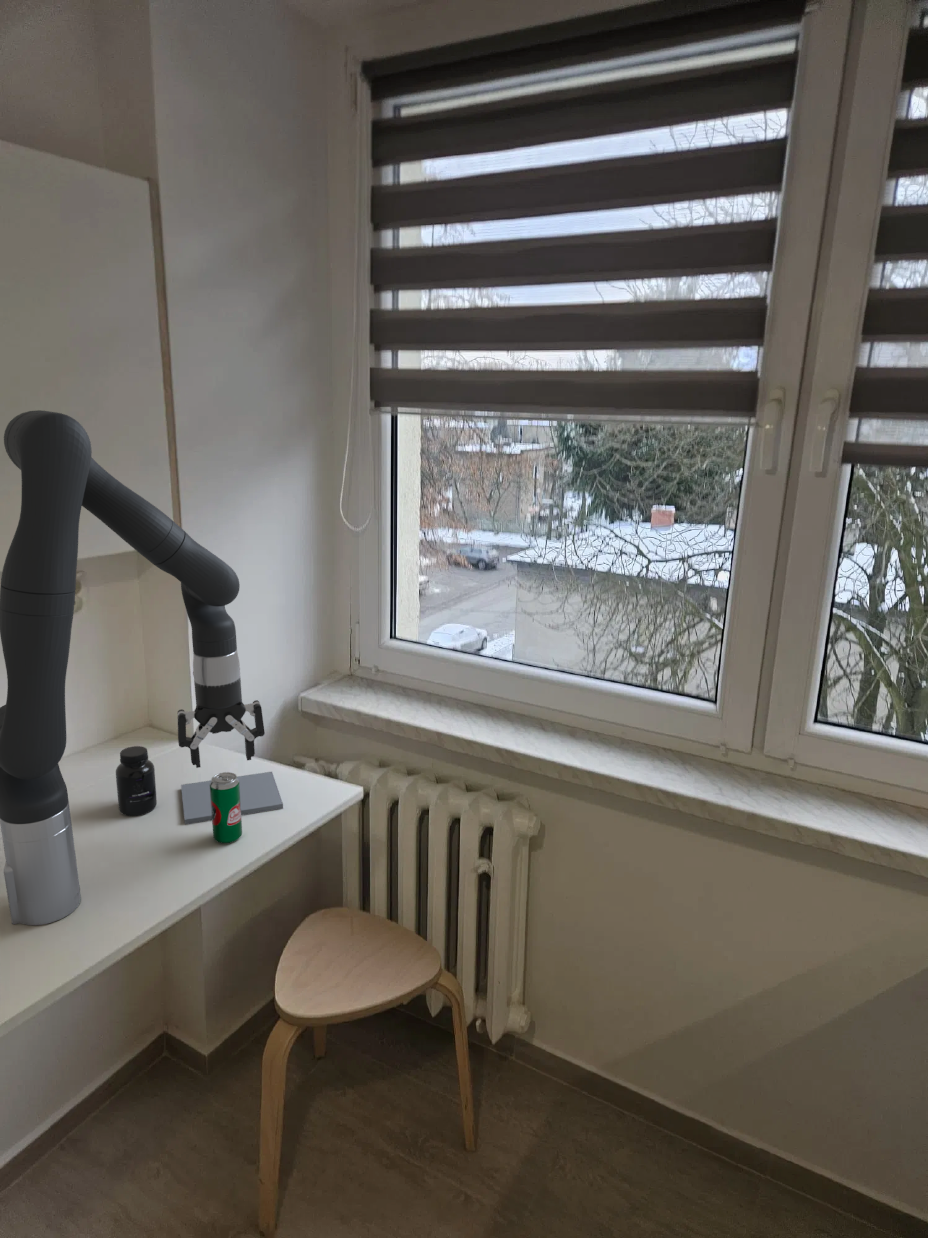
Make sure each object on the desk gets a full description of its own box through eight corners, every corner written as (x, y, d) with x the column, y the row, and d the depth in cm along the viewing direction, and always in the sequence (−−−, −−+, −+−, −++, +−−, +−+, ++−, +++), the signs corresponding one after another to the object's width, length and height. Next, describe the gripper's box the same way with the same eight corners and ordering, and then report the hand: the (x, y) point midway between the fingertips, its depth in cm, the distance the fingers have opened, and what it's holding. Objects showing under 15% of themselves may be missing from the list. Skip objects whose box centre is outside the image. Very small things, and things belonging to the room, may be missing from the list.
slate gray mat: (185, 824, 145) (184, 819, 145) (181, 789, 158) (181, 784, 157) (283, 808, 152) (282, 803, 151) (272, 775, 164) (272, 771, 164)
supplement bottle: (140, 820, 146) (134, 762, 143) (111, 813, 148) (104, 755, 145) (165, 803, 152) (160, 747, 149) (136, 796, 154) (131, 741, 151)
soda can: (234, 847, 139) (230, 786, 135) (208, 843, 140) (203, 782, 136) (247, 832, 143) (244, 773, 140) (222, 828, 144) (218, 769, 141)
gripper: (173, 688, 127) (181, 778, 131) (263, 678, 132) (268, 765, 136) (171, 673, 133) (179, 759, 138) (257, 663, 138) (262, 747, 143)
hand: (223, 762), depth 137 cm, fingers open, 8 cm apart
